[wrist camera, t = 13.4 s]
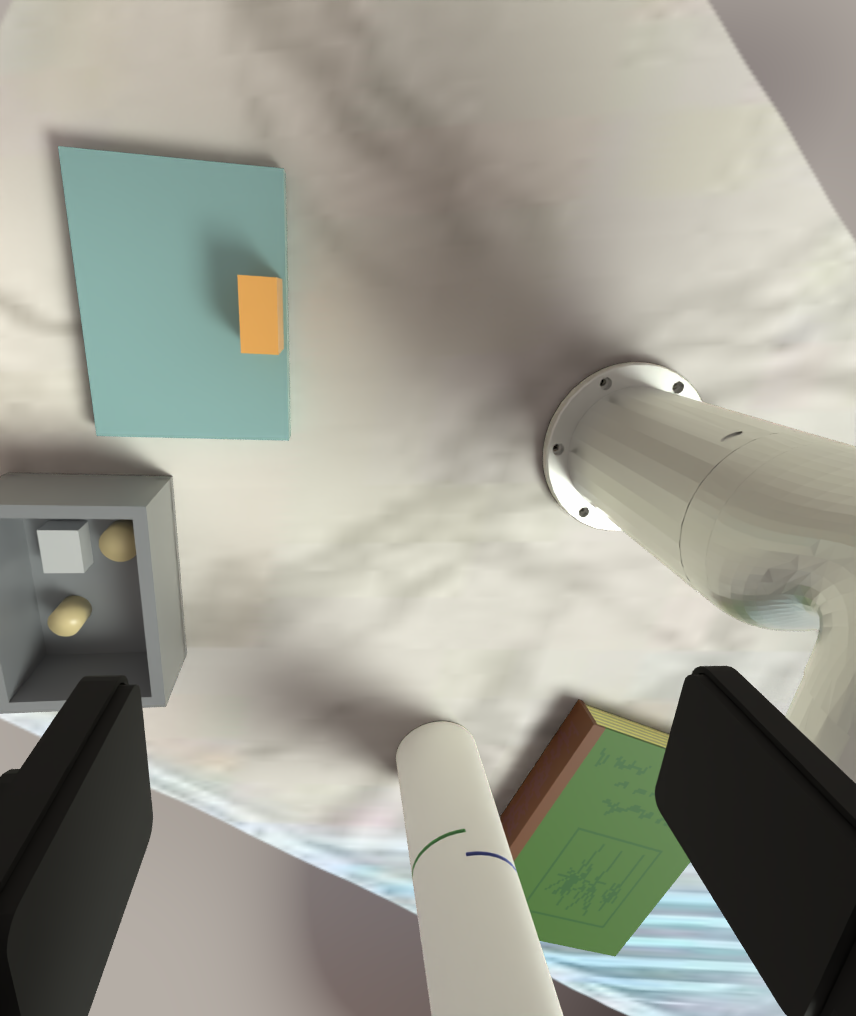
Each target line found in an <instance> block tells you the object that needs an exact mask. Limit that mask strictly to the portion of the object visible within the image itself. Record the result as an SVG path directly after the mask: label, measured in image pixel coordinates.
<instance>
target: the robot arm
mask: <svg viewBox="0 0 856 1016" xmlns="http://www.w3.org/2000/svg"><path fill="white" fill-rule="evenodd" d="M602 379H603V384H602V385H600V382H601V380H602ZM673 385H674V387H673ZM672 387H673V388H672ZM555 444H557V447H556V448H555V449H553V447H554V445H555ZM543 468H544V473H545V478H546V482H547V484H548V486H549V489H550V491H551V494H552V495H553V497H554V498H555V499H556V501H557V502H558V504H559V505H560V506H561V507H562V508H563V509H564V510H565V511H566V512H567V513H568V514H569V515H571V516H572V517H573V518H575V519H576V520H577V521H579V522H581V523H583V524H585V525H588V526H590V527H592V528H597V529H601V530H606V531H623V532H625V533H626V534H627V535H628V536H629V537H631V538H632V539H633V540H634V541H636V542H637V543H638V544H639V545H640V546H642V547H643V548H644V549H645V550H647V551H648V552H649V553H650V554H651V555H653V556H654V557H655V558H656V559H658V560H659V561H660V562H661V563H662V564H664V565H665V566H666V567H667V568H669V569H670V570H671V571H672V572H673V573H675V574H676V575H677V576H678V577H680V578H681V579H682V580H683V581H685V582H686V583H687V584H688V585H689V586H691V587H692V588H693V589H694V590H696V591H697V592H698V593H700V594H701V595H702V596H703V597H705V598H706V599H707V600H708V601H710V602H711V603H712V604H713V605H715V606H716V607H717V608H719V609H720V610H722V611H723V612H725V613H726V614H728V615H729V616H731V617H733V618H735V619H737V620H739V621H742V622H744V623H747V624H749V625H753V626H757V627H760V628H765V629H770V630H778V631H813V630H819V633H818V638H817V641H816V644H815V646H814V648H813V651H812V653H811V656H810V658H809V661H808V663H807V665H806V667H805V670H804V676H803V678H802V681H801V683H800V685H799V687H798V689H797V692H796V694H795V696H794V698H793V700H792V703H791V705H790V707H789V709H788V711H787V713H786V716H784V715H783V714H782V713H781V712H780V711H779V710H778V709H777V708H776V707H775V706H773V705H772V704H771V703H770V702H769V701H768V700H767V699H766V698H765V697H764V696H763V695H762V694H761V693H760V692H759V691H758V690H757V689H756V688H754V687H753V686H752V685H751V684H750V683H749V682H748V681H747V680H746V679H745V678H744V677H743V676H742V675H741V674H740V673H739V672H738V671H737V670H735V669H734V668H732V667H729V666H700V667H697V668H695V670H694V671H693V672H692V675H688V676H687V677H686V678H685V681H684V684H683V687H682V691H681V695H680V698H679V702H678V706H677V709H676V713H675V717H674V720H673V724H672V728H671V731H670V735H669V739H668V742H667V746H666V750H665V753H664V757H663V761H662V764H661V768H660V772H659V775H658V779H657V783H656V786H655V800H656V804H657V807H658V809H659V811H660V813H661V815H662V816H663V818H664V820H665V821H666V823H667V825H668V826H669V828H670V829H671V831H672V833H673V834H674V836H675V838H676V839H677V841H678V842H679V844H680V846H681V847H682V849H683V850H684V852H685V854H686V855H687V857H688V859H689V860H690V862H691V863H692V865H693V867H694V868H695V870H696V872H697V873H698V875H699V876H700V878H701V880H702V881H703V883H704V884H705V886H706V888H707V889H708V891H709V893H710V894H711V896H712V897H713V899H714V901H715V902H716V904H717V906H718V907H719V909H720V910H721V912H722V914H723V915H724V917H725V918H726V920H727V922H728V923H729V925H730V927H731V928H732V930H733V931H734V933H735V935H736V936H737V938H738V940H739V941H740V943H741V944H742V946H743V948H744V949H745V951H746V952H747V954H748V956H749V957H750V959H751V961H752V962H753V964H754V965H755V967H756V969H757V970H758V972H759V974H760V975H761V977H762V978H763V980H764V982H765V983H766V985H767V986H768V988H769V990H770V991H771V993H772V995H773V996H774V998H775V999H776V1001H777V1003H778V1004H779V1006H780V1007H781V1009H782V1010H783V1012H784V1013H785V1014H786V1015H787V1016H856V446H853V445H849V444H845V443H842V442H838V441H835V440H831V439H828V438H824V437H821V436H818V435H814V434H810V433H807V432H803V431H800V430H797V429H793V428H790V427H786V426H783V425H780V424H776V423H773V422H769V421H766V420H763V419H759V418H756V417H752V416H749V415H745V414H742V413H739V412H735V411H732V410H728V409H725V408H722V407H718V406H715V405H711V404H708V403H704V402H703V401H702V399H701V398H700V396H699V394H698V392H697V391H696V389H695V388H694V387H693V386H692V385H691V384H690V383H689V381H688V380H687V379H685V378H684V377H682V376H681V375H680V374H678V373H677V372H675V371H673V370H671V369H668V368H666V367H663V366H660V365H656V364H651V363H644V362H628V363H621V364H615V365H613V366H610V367H607V368H604V369H601V370H599V371H598V372H596V373H594V374H592V375H591V376H589V377H587V378H585V379H584V380H583V381H582V382H581V383H580V384H578V385H577V386H576V387H575V388H574V389H572V390H571V392H570V393H569V394H568V395H567V396H566V398H565V399H564V400H563V401H562V402H561V404H560V405H559V407H558V409H557V410H556V412H555V414H554V415H553V417H552V419H551V422H550V425H549V427H548V430H547V433H546V437H545V442H544V447H543ZM581 508H582V509H581ZM579 509H581V510H580V511H579ZM152 822H153V812H152V801H151V791H150V781H149V771H148V760H147V750H146V740H145V730H144V720H143V710H142V700H141V691H140V687H139V685H129V683H128V679H127V677H126V676H124V675H101V676H85V677H83V678H82V679H81V680H80V681H79V683H78V684H77V685H76V687H75V688H74V690H73V691H72V693H71V694H70V696H69V697H68V699H67V700H66V702H65V703H64V705H63V706H62V708H61V709H60V711H59V712H58V714H57V715H56V717H55V718H54V719H53V721H52V722H51V724H50V725H49V727H48V728H47V730H46V731H45V733H44V734H43V736H42V737H41V739H40V740H39V742H38V743H37V745H36V746H35V748H34V749H33V751H32V752H31V754H30V755H29V757H28V758H27V759H26V761H25V762H24V764H23V765H22V767H21V768H20V769H11V770H9V771H7V772H5V773H4V774H2V776H1V777H0V1016H88V1013H89V1011H90V1008H91V1005H92V1002H93V999H94V997H95V994H96V991H97V988H98V985H99V982H100V979H101V977H102V973H103V971H104V968H105V965H106V962H107V959H108V956H109V954H110V951H111V948H112V945H113V942H114V939H115V937H116V934H117V931H118V928H119V925H120V922H121V919H122V917H123V914H124V911H125V908H126V905H127V902H128V899H129V897H130V894H131V890H132V888H133V885H134V882H135V880H136V877H137V874H138V871H139V868H140V865H141V862H142V860H143V857H144V854H145V851H146V848H147V845H148V842H149V839H150V835H151V831H152Z"/></svg>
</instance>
